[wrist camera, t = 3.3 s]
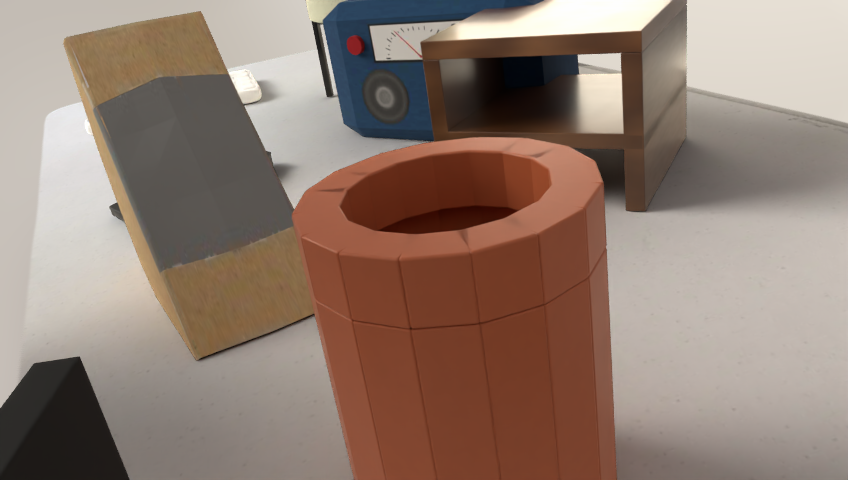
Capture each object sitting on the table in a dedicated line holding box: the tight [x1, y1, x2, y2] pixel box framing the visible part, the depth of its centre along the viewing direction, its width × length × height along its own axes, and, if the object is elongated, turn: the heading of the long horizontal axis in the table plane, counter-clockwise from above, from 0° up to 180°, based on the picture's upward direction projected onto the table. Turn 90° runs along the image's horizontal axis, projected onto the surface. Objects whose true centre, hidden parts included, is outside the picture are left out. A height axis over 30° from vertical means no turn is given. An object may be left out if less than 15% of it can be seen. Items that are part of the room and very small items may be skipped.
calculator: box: [85, 70, 262, 135], centre depth 91 cm, size 13×20×2 cm, turn 108°
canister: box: [292, 137, 617, 480], centre depth 24 cm, size 9×9×12 cm
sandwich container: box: [64, 11, 314, 360], centre depth 43 cm, size 9×15×15 cm, turn 30°
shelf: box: [420, 0, 687, 211], centre depth 53 cm, size 14×14×11 cm
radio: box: [322, 0, 579, 141], centre depth 63 cm, size 21×9×20 cm, turn 56°
